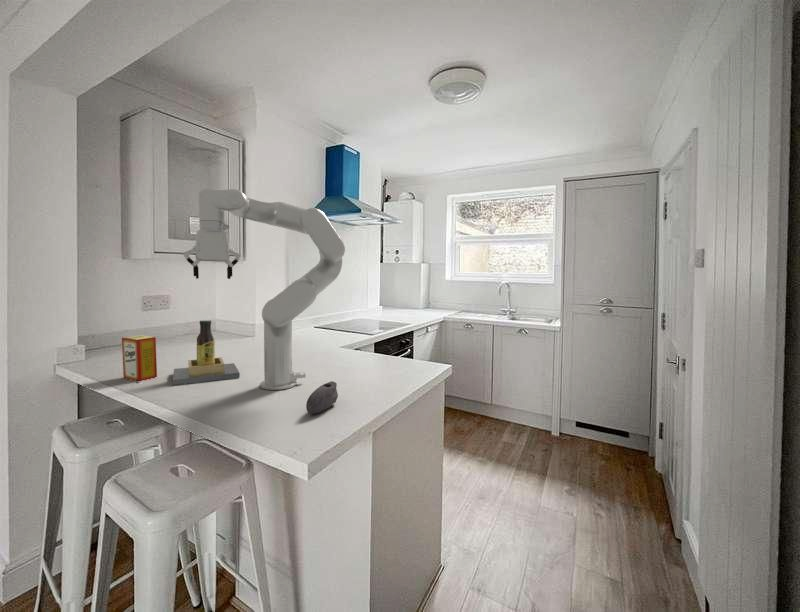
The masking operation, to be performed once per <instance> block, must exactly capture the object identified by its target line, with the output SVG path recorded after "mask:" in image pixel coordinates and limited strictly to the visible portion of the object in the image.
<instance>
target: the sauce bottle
mask: <svg viewBox="0 0 800 612" xmlns="http://www.w3.org/2000/svg"><path fill="white" fill-rule="evenodd" d="M199 325H200V327H199V334H198V335H197V337H196V360H197V366H201V365H212V364H215V358H216V357H215V356H216V355H215V339H214V336H213V332H212V329H211V328H212V320H210V319H203V320H199Z"/></svg>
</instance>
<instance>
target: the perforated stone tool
mask: <svg viewBox="0 0 800 612" xmlns="http://www.w3.org/2000/svg"><path fill="white" fill-rule="evenodd" d="M337 385H338V384H337V382H335V381H331V380H330V381H328V382H326V383H323V384H322V385H320V386H318V387H317V388H315V390H314V391H312V392H311V394H310V395H309V396H308V398H307V400H306V411H307V413H308V414H309V415H316V414H319V413H322V412H323V410H324V411H326V410H328V409H330V408H331V406H333V405H334V404H335V403H336V402H337V400H338V397H339V394H338V390H337V387H338V386H337ZM327 408H328V409H327ZM325 409H326V410H325Z"/></svg>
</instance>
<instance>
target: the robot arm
mask: <svg viewBox="0 0 800 612" xmlns="http://www.w3.org/2000/svg"><path fill="white" fill-rule="evenodd" d="M225 211H227V212H229V213H230V214H232V215H233V216H236V217H239V218H242V219H245V220H250V221H254V222H257V223H261V224H266V225H269V226H273V227H279V228H281V229H282V228H283V229H287V230H291V231H293V232H294V231H295V232H298V233H300V234H301V233H302V234H304V235H305V234H306V235H309V238H310V239H311V240H312V242H313V243H314V245H315V246H316V247H317V249H318V252H319V253H318V254H319V258H320V259H319V261H318V263H317V264H316V265H315V266H313V267H312V268H311V269H310V270H309V271H307V273H305V274H303V275H302V276H301V277H300V278H298V279H295V280H294V281H293V282H291V283H290V285H288V286H287V287H285V289H283V290H282V291H280V292H279V293H278V294H277V295H276V296H274V297H273V298H272V299H269V300H268V301H267V302H266V303H265V304H264V305H263V308H262V310H261V317H262V320H263V337H264V338H263V355H264V356H263V357H264V358H263V359H264V360H263V362H264V364H263V365H264V367H263V368H264V371H263V372H264V380H262V381H261V382H260V383H259V386H260V388H261V389H262V390H263V389H264V390H268V391H278V390H279V391H281V390H286V389H290V388H293V387H295V386H296V385H297V383H298V382H297V380H298V379H305V378H306V373H305V372H299V371H298V372H294V371H293V335H292V334H293V320H294V319H295V318H297V317H298V316H299V315H300V314H302V313H303V312H304V311H306V310H307V308H309V307H310V306H311V305H312V304H313V303H315V300H316V299H317V296H319V294H320V293H322V292H323V291H324V290H326V289H327V287H329V286H330V285H331V284H332V283H333V282H334V281H335V280H336V279H337V278H338V276H339V275H340V273H341V270H342V267H343V256H344V255H345V252H346V247H345V244H344V241H343V239H342V238H341V237H340V235H339V233H338V232H337V231H336V229H335V228H334V227H333V225H332V223H331V222H330V221H329V218H327V215H326V214H325V212H323V211H322V210H321V209H319V208H316V207H310V208H304V207H300V206H295V205H293V204H290V203H286V202H282V201H275V202H267V201H266V202H265V201H260V200H257V199H253V198H249V197H247V196H246V194H245V193H243V191H241V190H239V189H235V188H230V189H229V188H228V189H215V188H214V189H213V188H202V189H200V190H199V191H198V220H199V222H198V223H199V224H198V225H199V226H198V227H199V228H198V229H199V230H197V231H196V236H195V247H194V248H191V249H189V250H186V251H183V253H182V254H183V256H184V258H185V260H186V261H187V262H188V263H189V264H190V265H191V266H192V267H193V269H192V271H193V277H195V279H200V278H199V276H200V275H199V272H200V271H199V266H198V265H199V264H200V262H219V263H220V262H222V263H223V262H224V263H225V265H227V267H226V277H227V279H228V280H230V279H231V277H233V267H234V266H235V265H236V264H237V263H238V262H239V260H240V258H241V254H240V253H237V252H236V251H233V250H232V249H231V248H230V245H229V237H228V233H227V232H226V230H230V225H228V224H226V223H225ZM193 253H195V260H193V259H192V258H191V257H190V255H192V254H193ZM230 255H232V256H234V259H233V260H232V261H230Z"/></svg>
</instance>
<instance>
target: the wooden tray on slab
mask: <svg viewBox="0 0 800 612" xmlns="http://www.w3.org/2000/svg"><path fill="white" fill-rule="evenodd" d="M187 361H188V362H187V364H188V365H187V366H188V367H179V368H173V374H172V375H173V376H172V385H173V386H179V385H178V384H181V385H187V384H186V383H190V384H197V383H196V382H199V383H206V382H205V381H208V382H215V381H214V380H216V381H222V380H223V379H225V380H231V378H234V379H240V378H239V377H240V372H239V369H238V367H237V366H236V364H235V363H234V362H233V363H232V362H231V363H225V362H224V360H223V358H222V356H221V357H215V364H212V365H201V366H197V359H189V360H187ZM223 381H224V380H223Z"/></svg>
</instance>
